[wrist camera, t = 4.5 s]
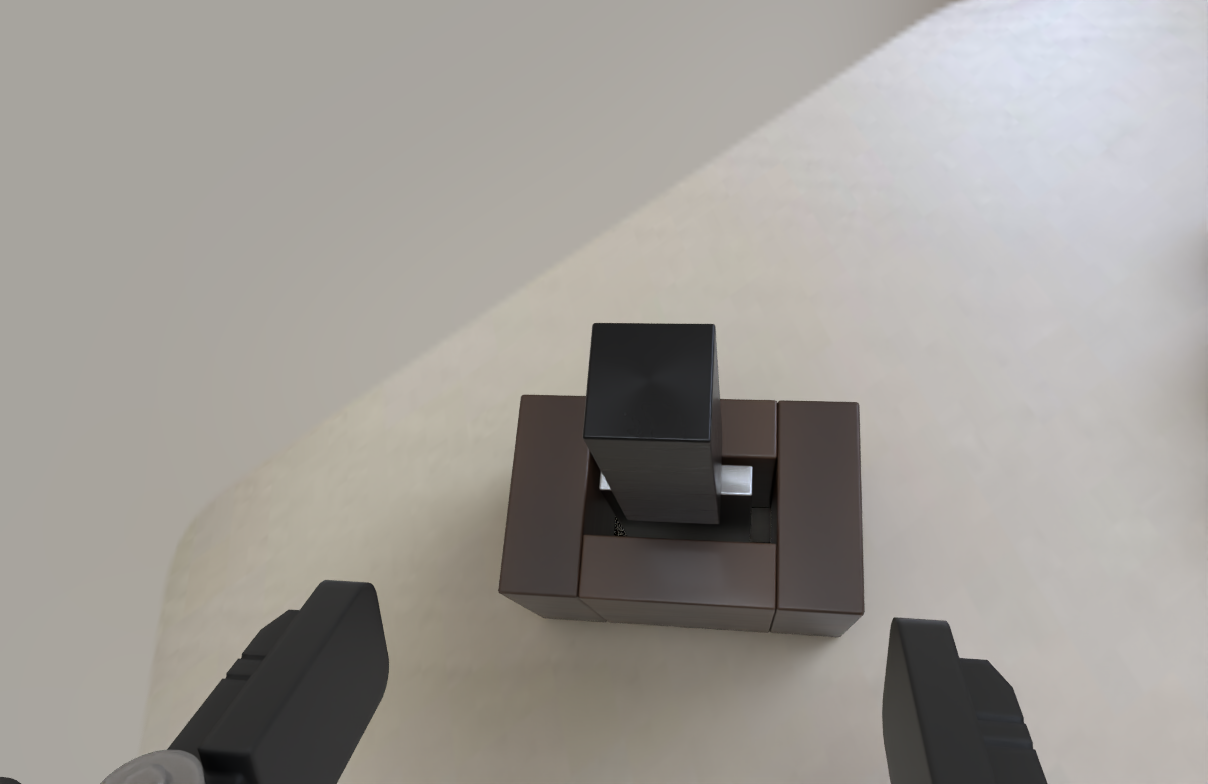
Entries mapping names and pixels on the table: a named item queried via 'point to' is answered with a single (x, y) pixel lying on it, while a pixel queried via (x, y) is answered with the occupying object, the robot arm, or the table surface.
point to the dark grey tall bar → (663, 433)
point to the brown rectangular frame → (685, 566)
